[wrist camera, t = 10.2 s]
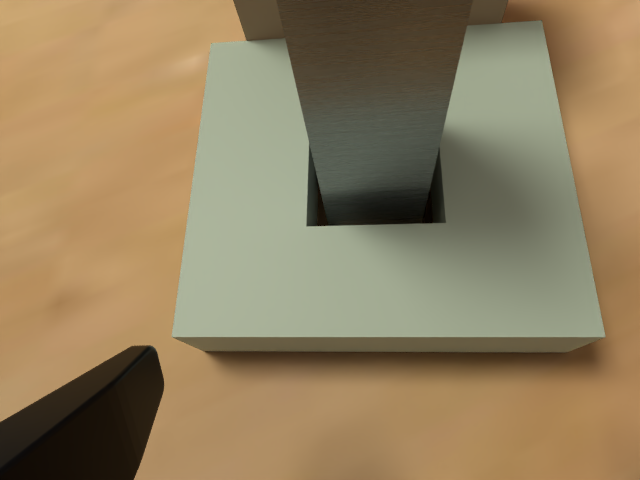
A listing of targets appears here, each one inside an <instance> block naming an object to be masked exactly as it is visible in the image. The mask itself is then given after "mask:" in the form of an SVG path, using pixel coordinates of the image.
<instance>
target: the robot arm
mask: <svg viewBox="0 0 640 480" xmlns="http://www.w3.org/2000/svg"><path fill="white" fill-rule="evenodd" d="M163 391H164V378H163V374H162V370H161V366H160V362H159V358H158V354H157V351H156V349H155V348H154V347H153V346H150V345H147V346H131V347H129V348H128V349H126V350H124V351H122V352H121V353H119V354H117V355H115V356H114V357H112V358H110V359H109V360H107V361H105V362H103V363H102V364H100V365H98V366H96V367H95V368H93V369H91V370H90V371H88V372H86V373H84V374H83V375H81V376H79V377H77V378H76V379H74V380H72V381H71V382H69V383H67V384H65V385H64V386H62V387H60V388H58V389H57V390H55V391H53V392H52V393H50V394H48V395H46V396H45V397H43V398H41V399H39V400H38V401H36V402H34V403H33V404H31V405H29V406H27V407H26V408H24V409H22V410H20V411H19V412H17V413H15V414H14V415H12V416H10V417H8V418H7V419H5V420H3V421H1V422H0V480H134V478H135V475H136V473H137V470H138V468H139V466H140V463H141V460H142V457H143V454H144V451H145V448H146V445H147V442H148V439H149V435H150V432H151V429H152V426H153V423H154V420H155V417H156V413H157V410H158V407H159V404H160V401H161V398H162V395H163Z"/></svg>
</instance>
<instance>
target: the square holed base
mask: <svg viewBox="0 0 640 480" xmlns="http://www.w3.org/2000/svg"><path fill="white" fill-rule="evenodd" d="M233 1H234V4H235V7H236V10H237V13H238V16H239V19H240V22H241V25H242V28H243V31H244V34H245V37H246V40H247V41H237V42H223V43H211V48H210V55H209V63H208V70H207V78H206V85H205V93H204V100H203V108H202V115H201V122H200V130H199V137H198V145H197V152H196V160H195V167H194V175H193V182H192V190H191V197H190V204H189V212H188V219H187V227H186V234H185V242H184V249H183V257H182V264H181V272H180V279H179V286H178V294H177V301H176V309H175V316H174V324H173V331H172V337H173V338H175V339H177V340H180V341H182V342H184V343H186V344H189V345H191V346H193V347H195V348H198V349H200V350H202V351H293V352H562V353H567V352H569V351H572V350H574V349H577V348H579V347H582V346H584V345H587V344H589V343H592V342H595V341H597V340H600V339H602V338H605V332H604V327H603V322H602V317H601V312H600V307H599V302H598V297H597V292H596V287H595V282H594V277H593V272H592V267H591V262H590V257H589V252H588V247H587V242H586V238H585V233H584V228H583V223H582V218H581V213H580V208H579V203H578V198H577V193H576V188H575V183H574V178H573V173H572V168H571V163H570V158H569V153H568V148H567V143H566V138H565V133H564V128H563V123H562V118H561V113H560V108H559V103H558V98H557V93H556V88H555V83H554V79H553V74H552V69H551V64H550V59H549V54H548V49H547V44H546V39H545V34H544V29H543V24H542V20H540V21H526V22H511V23H501V22H502V18H503V15H504V12H505V9H506V5H507V2H508V0H473V2H472V7H471V11H470V15H469V20H468V24H467V28H466V33H465V37H464V42H463V46H462V50H461V55H460V59H459V63H458V68H457V72H456V76H455V81H454V85H453V90H452V94H451V98H450V103H449V107H448V111H447V116H446V120H445V124H444V129H443V133H442V138H441V142H440V146H439V151H438V155H437V159H436V164H435V168H434V173H433V177H432V181H431V186H430V189H431V202H432V215H433V223H426V224H386V225H347V226H317V219H318V179H317V174H316V170H315V166H314V161H313V157H312V153H311V148H310V144H309V140H308V135H307V131H306V127H305V122H304V118H303V114H302V109H301V105H300V101H299V96H298V92H297V88H296V83H295V79H294V75H293V70H292V66H291V62H290V57H289V53H288V49H287V44H286V40H285V36H284V31H283V27H282V23H281V18H280V14H279V10H278V5H277V1H276V0H233Z"/></svg>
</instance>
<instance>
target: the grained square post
mask: <svg viewBox="0 0 640 480" xmlns="http://www.w3.org/2000/svg"><path fill="white" fill-rule="evenodd" d="M276 1H277V5H278V10H279V14H280V18H281V23H282V27H283V31H284V36H285V40H286V44H287V49H288V53H289V57H290V62H291V66H292V70H293V75H294V79H295V83H296V88H297V92H298V96H299V101H300V105H301V109H302V114H303V118H304V122H305V127H306V131H307V135H308V140H309V144H310V148H311V153H312V157H313V161H314V166H315V170H316V174H317V179H318V183H319V187H320V192H321V196H322V200H323V205H324V209H325V213H326V218H327V222H328V226H347V225H386V224H422V221H423V216H424V212H425V207H426V203H427V199H428V194H429V190H430V186H431V181H432V177H433V173H434V168H435V164H436V159H437V155H438V151H439V146H440V142H441V138H442V133H443V129H444V124H445V120H446V116H447V111H448V107H449V103H450V98H451V94H452V90H453V85H454V81H455V76H456V72H457V68H458V63H459V59H460V55H461V50H462V46H463V42H464V37H465V33H466V28H467V24H468V20H469V15H470V11H471V7H472V2H473V0H276Z"/></svg>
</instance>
